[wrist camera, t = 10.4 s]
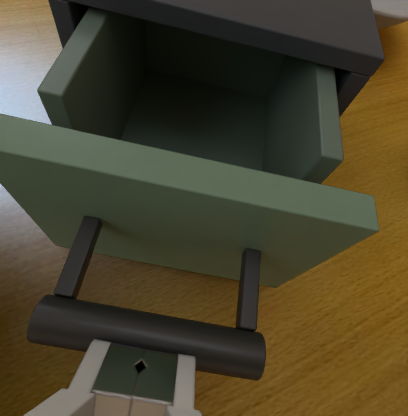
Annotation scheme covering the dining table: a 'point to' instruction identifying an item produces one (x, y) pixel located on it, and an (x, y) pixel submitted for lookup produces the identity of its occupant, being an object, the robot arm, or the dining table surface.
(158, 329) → the drawer
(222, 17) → the cabinet
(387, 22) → the dish
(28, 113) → the dining table surface
